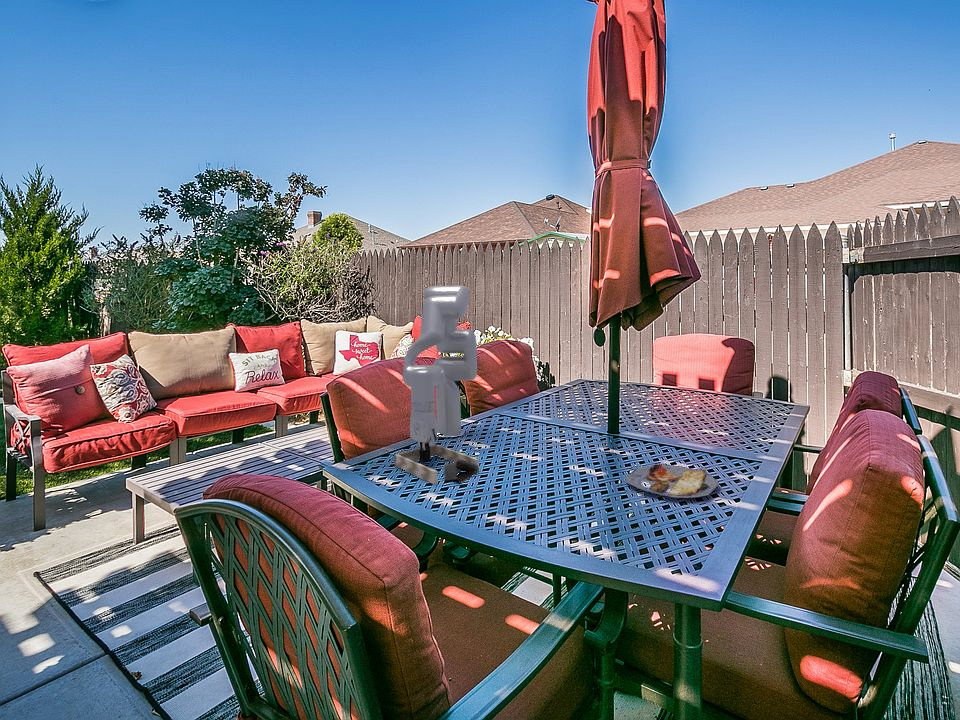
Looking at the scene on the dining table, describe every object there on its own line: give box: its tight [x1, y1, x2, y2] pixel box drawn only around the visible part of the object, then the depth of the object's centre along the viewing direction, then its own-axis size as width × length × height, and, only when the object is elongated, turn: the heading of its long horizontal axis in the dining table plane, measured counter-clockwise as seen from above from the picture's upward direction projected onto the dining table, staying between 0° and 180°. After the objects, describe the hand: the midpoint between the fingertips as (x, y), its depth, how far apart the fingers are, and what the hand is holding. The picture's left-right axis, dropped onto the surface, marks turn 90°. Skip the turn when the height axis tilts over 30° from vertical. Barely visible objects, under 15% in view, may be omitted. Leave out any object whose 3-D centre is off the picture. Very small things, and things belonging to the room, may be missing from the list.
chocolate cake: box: [443, 458, 480, 484], centre depth 156 cm, size 10×7×12 cm
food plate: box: [625, 463, 720, 500], centre depth 145 cm, size 25×23×4 cm
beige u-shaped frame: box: [393, 443, 480, 486], centre depth 164 cm, size 23×17×4 cm
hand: (425, 460), depth 169 cm, fingers closed
